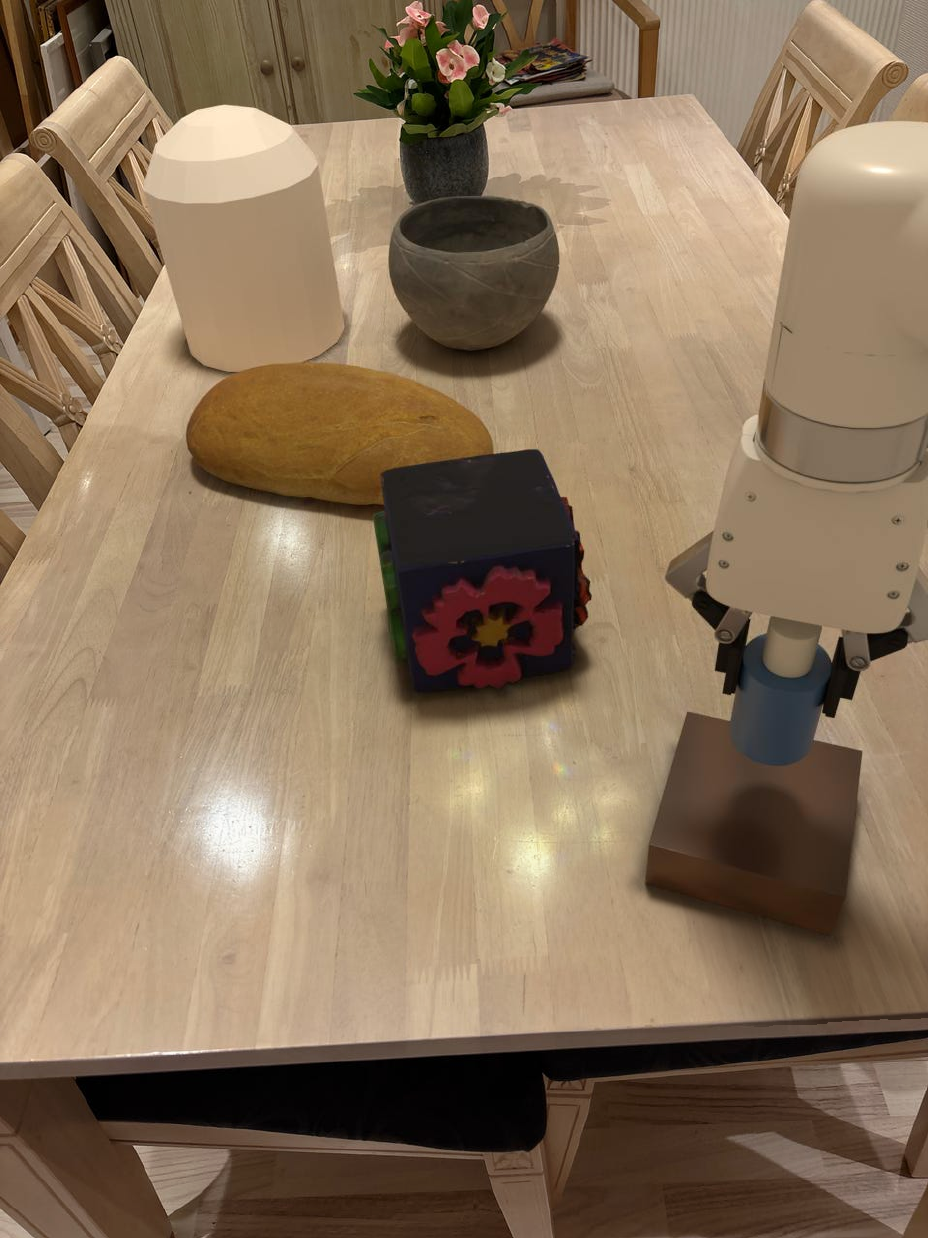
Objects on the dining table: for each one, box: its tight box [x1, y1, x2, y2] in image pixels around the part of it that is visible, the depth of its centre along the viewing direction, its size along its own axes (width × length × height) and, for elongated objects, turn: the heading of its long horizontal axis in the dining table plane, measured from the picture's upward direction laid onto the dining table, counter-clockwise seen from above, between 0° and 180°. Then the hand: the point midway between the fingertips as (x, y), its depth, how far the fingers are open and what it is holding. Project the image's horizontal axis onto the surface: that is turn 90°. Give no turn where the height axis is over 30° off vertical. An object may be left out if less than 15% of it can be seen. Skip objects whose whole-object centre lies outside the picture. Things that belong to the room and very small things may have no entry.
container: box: [143, 104, 346, 373], centre depth 121 cm, size 21×21×28 cm
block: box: [644, 711, 863, 937], centre depth 66 cm, size 12×12×4 cm
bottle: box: [729, 616, 832, 766], centre depth 57 cm, size 5×5×10 cm
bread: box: [185, 361, 494, 506], centre depth 103 cm, size 18×35×10 cm, turn 70°
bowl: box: [388, 195, 560, 352], centre depth 120 cm, size 21×21×15 cm
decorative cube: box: [372, 448, 593, 693], centre depth 80 cm, size 16×16×14 cm
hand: (781, 687), depth 57 cm, fingers closed on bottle, 5 cm apart
